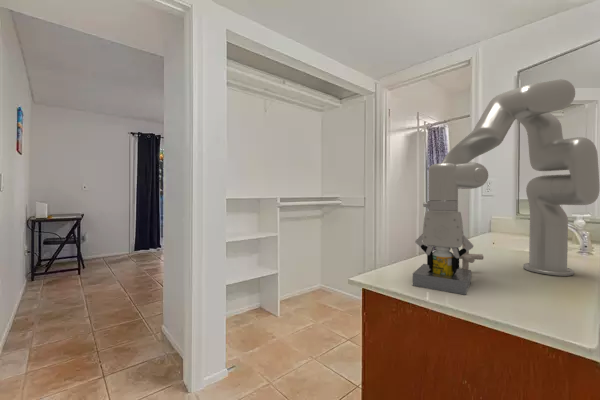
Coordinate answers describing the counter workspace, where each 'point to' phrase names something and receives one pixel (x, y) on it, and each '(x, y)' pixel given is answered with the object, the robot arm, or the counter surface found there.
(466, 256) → the pipe connector
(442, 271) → the supplement bottle
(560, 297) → the counter surface
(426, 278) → the socket block
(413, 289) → the counter surface
